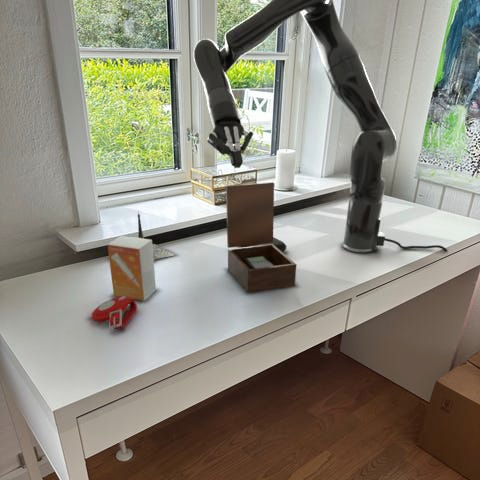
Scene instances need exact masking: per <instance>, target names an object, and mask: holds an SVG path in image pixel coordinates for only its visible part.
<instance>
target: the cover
mask: <svg viewBox="0 0 480 480" xmlns="http://www.w3.org/2000/svg"><path fill="white" fill-rule="evenodd" d="M225 202H226V203H225V205H226V206H225V207H226V240H227V242H226V243H227V244H226V245H227V246H226V247H227V248H228V249H232V248H240V247H244V246H247V245H256V244H264V243H273V237H274V218H275V217H274V216H275V211H274V208H275V203H274V202H275V182H274V181H269V182H257V183H245V184H231V185H225Z"/></svg>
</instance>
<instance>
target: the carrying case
mask: <svg viewBox="0 0 480 480" xmlns="http://www.w3.org/2000/svg"><path fill="white" fill-rule="evenodd" d="M267 244H273V245H274V246H276V247H277V248H278V249H279V250H280V251H281V252H283V253H284V252H285V251H286V250H287V247H288V246H287V244H286V243H285V242H284V241H282V240H280V239H278V238H276V237H274V236H273V243H264V244H256V245H247V246H243V247H250V246H258V245H267Z"/></svg>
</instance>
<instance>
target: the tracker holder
mask: <svg viewBox="0 0 480 480" xmlns="http://www.w3.org/2000/svg"><path fill="white" fill-rule="evenodd" d="M128 307H129V309H128ZM127 309H128V311H127V312H126V310H127ZM137 311H138V305H137V303H136V301H135V299H133V298H129V297H125V296H115V297H113V298H111V299H109V300H107V301H105V302H103V303H101V304H100V305H98V306H97V307H96V308H95V309H94V310H93V311H92V312H91V318H92V321H93V322H95V323H104V322H108V321H109V327H108V328H109V329H110V330H115V331H117V330H121V329H123V328H125V327H126V326H127V325H128V324H129V322H130V321H131V319H132V318H133V317H134V316H135V315H136V313H137ZM125 312H126V313H125ZM123 315H124V316H123Z"/></svg>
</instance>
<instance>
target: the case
mask: <svg viewBox="0 0 480 480" xmlns="http://www.w3.org/2000/svg"><path fill="white" fill-rule="evenodd" d="M260 256H265V257H266V258H267V259H268V260H269V261H270V262H271V263H272V264H273V265H275V266H272V267H264V268H257V269H249V268H248V267H247V266H246V265H245V263H244V262H243V259H245V258H252V257H260ZM227 270H228V271H229V272H230V274H231V275H232V276H233V277H234V279H235V280H236V281H237V282H238V283H239V284H240V286H241V287H242V288H243V289H244V290H245V292H246V293H247V294H250V293H257V292H263V291H270V290H277V289H283V288H289V287H295V286H296V278H297V277H296V276H297V263H295V262H294V261H293V260H292V259H291V258H289V257H288V256H287V255H286V254H285V253H284V252H281V251H280V250H279V249H278V248H277V247H276V246H274V245H273V244H267V245H258V246H250V247H244V246H241V247H232V248H228V249H227Z"/></svg>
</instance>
